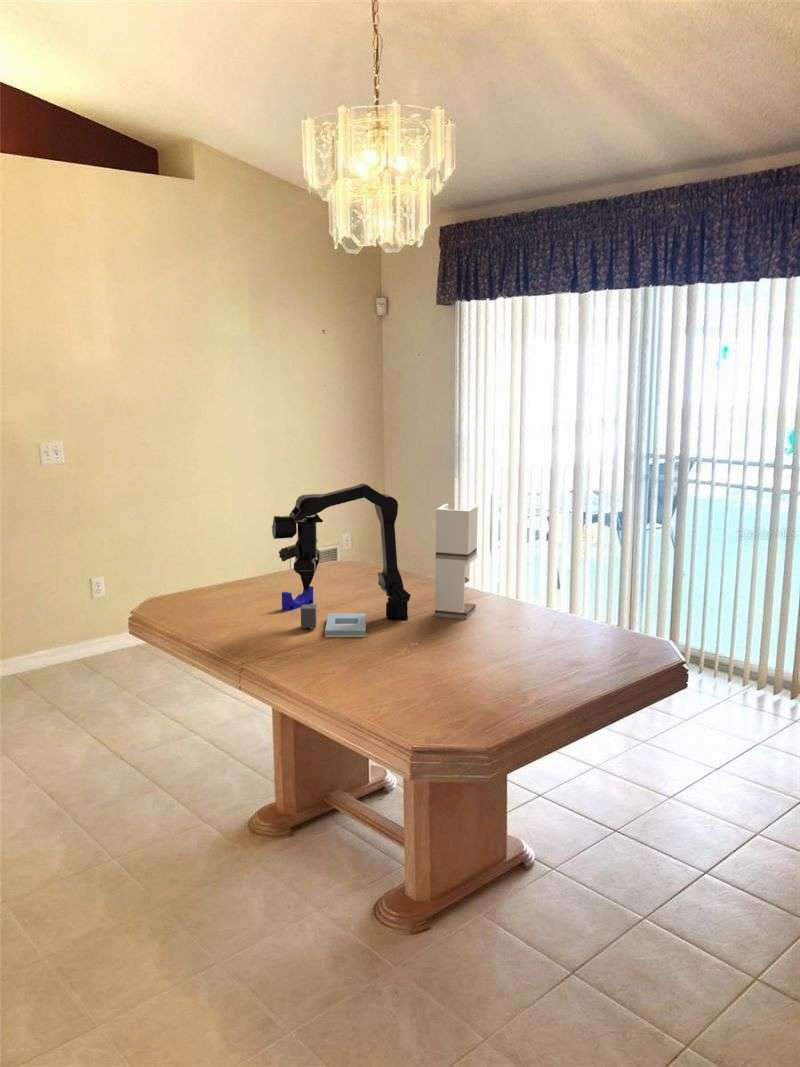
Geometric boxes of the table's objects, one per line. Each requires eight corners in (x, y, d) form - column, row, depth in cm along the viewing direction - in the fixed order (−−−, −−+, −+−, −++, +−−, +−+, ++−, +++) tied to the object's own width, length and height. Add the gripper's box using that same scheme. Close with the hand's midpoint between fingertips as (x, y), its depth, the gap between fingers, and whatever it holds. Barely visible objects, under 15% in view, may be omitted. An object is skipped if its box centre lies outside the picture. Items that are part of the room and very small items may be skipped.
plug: (316, 625, 270) (316, 604, 268) (315, 630, 265) (315, 608, 264) (302, 625, 270) (301, 604, 268) (301, 630, 265) (300, 608, 264)
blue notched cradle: (303, 601, 298) (303, 584, 297) (313, 603, 295) (313, 586, 294) (278, 609, 288) (278, 591, 287) (288, 611, 286) (288, 593, 285)
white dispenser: (466, 619, 277) (469, 511, 271) (434, 616, 281) (436, 509, 274) (475, 610, 288) (477, 505, 281) (444, 607, 291) (446, 503, 285)
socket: (366, 619, 277) (366, 613, 276) (365, 636, 259) (365, 630, 259) (328, 619, 277) (328, 613, 276) (325, 636, 259) (324, 630, 258)
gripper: (284, 531, 274) (285, 579, 277) (276, 542, 255) (277, 594, 258) (320, 531, 273) (320, 579, 276) (314, 543, 255) (314, 594, 258)
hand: (307, 586), depth 267 cm, fingers open, 9 cm apart
